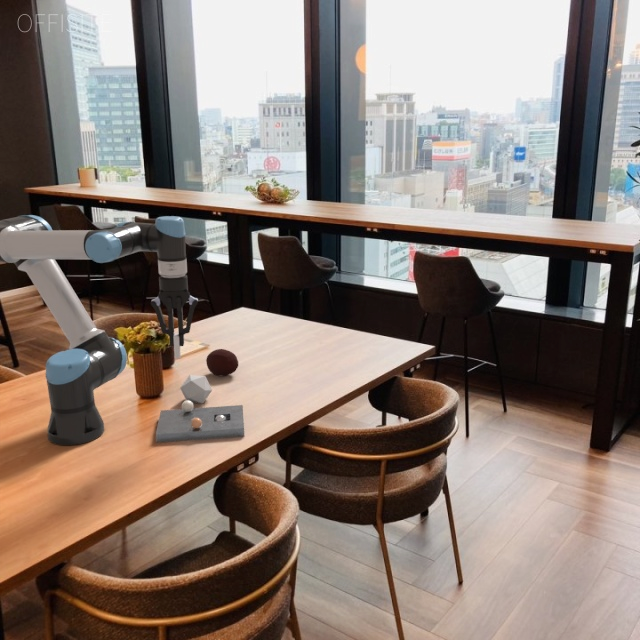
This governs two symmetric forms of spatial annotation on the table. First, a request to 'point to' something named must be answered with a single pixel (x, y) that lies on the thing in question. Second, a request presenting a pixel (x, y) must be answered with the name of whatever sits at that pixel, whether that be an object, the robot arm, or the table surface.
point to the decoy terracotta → (196, 423)
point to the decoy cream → (187, 406)
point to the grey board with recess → (179, 425)
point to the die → (196, 388)
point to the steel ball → (220, 418)
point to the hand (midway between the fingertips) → (177, 356)
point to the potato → (222, 362)
